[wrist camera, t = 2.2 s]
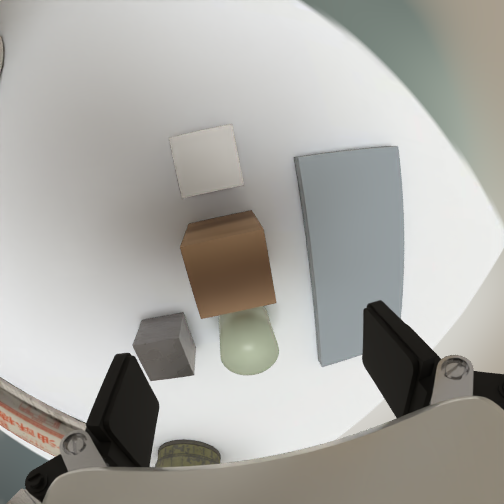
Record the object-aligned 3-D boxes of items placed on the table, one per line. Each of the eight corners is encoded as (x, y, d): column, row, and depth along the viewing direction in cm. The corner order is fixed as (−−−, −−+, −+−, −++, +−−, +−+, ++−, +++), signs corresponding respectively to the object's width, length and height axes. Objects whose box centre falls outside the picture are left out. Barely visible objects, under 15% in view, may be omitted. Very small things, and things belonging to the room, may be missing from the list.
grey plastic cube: (177, 140, 20) (168, 137, 17) (229, 129, 21) (232, 123, 17) (187, 191, 22) (181, 198, 18) (239, 180, 22) (244, 185, 18)
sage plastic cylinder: (213, 304, 25) (214, 337, 20) (263, 293, 25) (274, 324, 21) (225, 343, 26) (228, 379, 22) (271, 334, 27) (282, 368, 22)
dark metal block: (142, 319, 25) (132, 345, 21) (183, 311, 25) (178, 338, 21) (156, 353, 26) (150, 381, 22) (195, 347, 26) (194, 375, 23)
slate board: (294, 157, 22) (298, 157, 21) (390, 146, 22) (398, 146, 21) (318, 360, 28) (321, 367, 27) (393, 335, 29) (398, 341, 28)
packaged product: (-6, 428, 23) (-18, 392, 21) (5, 409, 28) (-3, 371, 26) (95, 480, 28) (99, 455, 25) (101, 457, 32) (106, 428, 30)
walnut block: (188, 223, 23) (180, 247, 17) (251, 210, 23) (263, 229, 17) (203, 281, 24) (200, 318, 19) (262, 268, 24) (276, 302, 19)
